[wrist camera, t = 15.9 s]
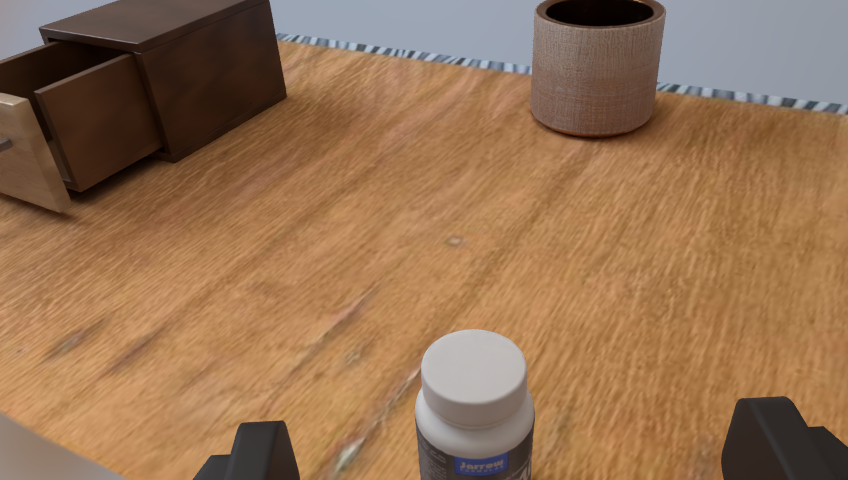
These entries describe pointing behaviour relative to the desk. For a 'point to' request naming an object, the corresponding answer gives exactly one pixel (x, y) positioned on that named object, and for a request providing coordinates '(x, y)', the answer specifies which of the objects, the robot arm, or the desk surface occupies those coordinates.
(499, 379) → the pill bottle
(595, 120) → the planter
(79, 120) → the drawer
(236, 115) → the cabinet
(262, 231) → the desk surface
